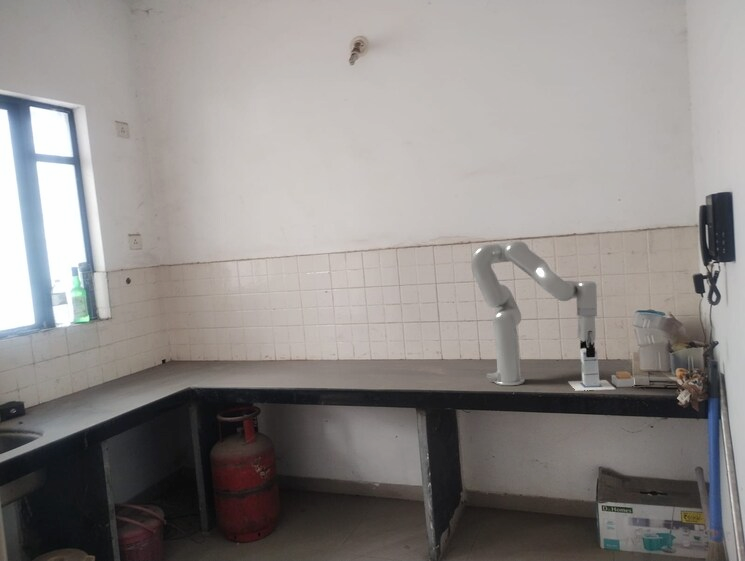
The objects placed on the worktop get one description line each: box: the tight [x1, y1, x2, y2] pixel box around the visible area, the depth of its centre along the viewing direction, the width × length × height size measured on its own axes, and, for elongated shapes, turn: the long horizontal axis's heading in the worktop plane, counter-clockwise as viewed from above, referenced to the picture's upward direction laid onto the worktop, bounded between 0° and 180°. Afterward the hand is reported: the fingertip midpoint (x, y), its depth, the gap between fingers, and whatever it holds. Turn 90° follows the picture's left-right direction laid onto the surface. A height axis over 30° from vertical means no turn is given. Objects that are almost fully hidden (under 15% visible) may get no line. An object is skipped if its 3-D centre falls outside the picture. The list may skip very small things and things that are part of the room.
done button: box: [615, 370, 632, 379], centre depth 222 cm, size 4×4×2 cm
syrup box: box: [579, 348, 600, 387], centre depth 224 cm, size 6×6×14 cm
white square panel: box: [567, 379, 617, 392], centre depth 224 cm, size 15×14×1 cm
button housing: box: [611, 374, 635, 388], centre depth 223 cm, size 7×7×3 cm
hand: (587, 354), depth 224 cm, fingers open, 9 cm apart
